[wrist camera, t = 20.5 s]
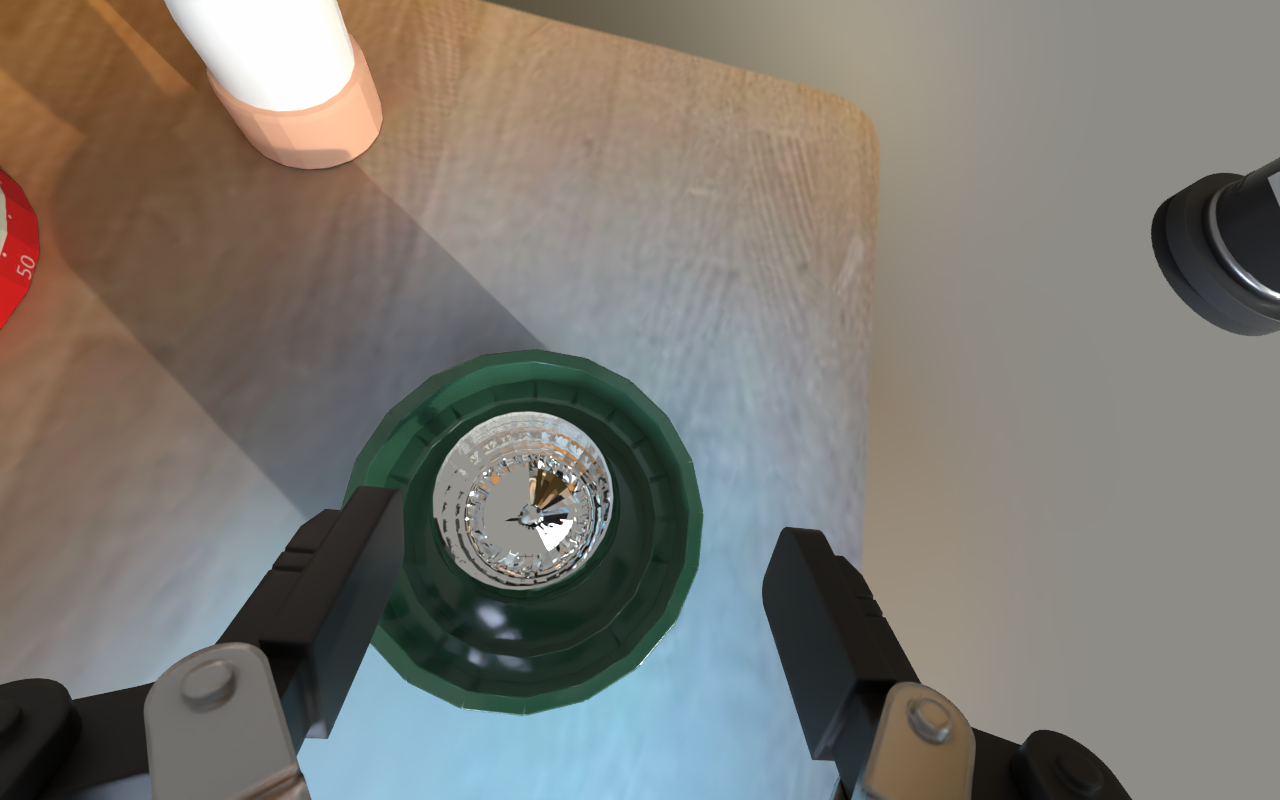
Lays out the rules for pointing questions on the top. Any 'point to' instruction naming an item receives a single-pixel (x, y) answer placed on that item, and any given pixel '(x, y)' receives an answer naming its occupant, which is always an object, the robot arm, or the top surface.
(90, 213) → the top surface
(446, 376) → the green bowl
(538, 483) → the wineglass
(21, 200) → the kitchen timer
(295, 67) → the salt shaker
